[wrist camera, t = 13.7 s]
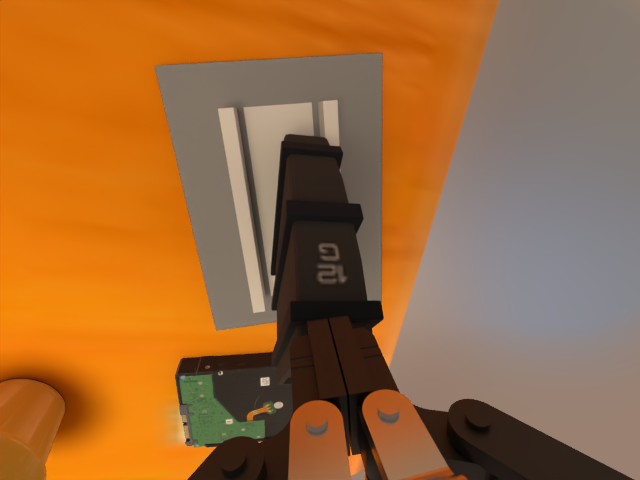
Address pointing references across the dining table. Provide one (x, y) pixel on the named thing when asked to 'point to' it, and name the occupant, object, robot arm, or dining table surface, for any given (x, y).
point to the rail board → (268, 162)
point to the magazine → (315, 247)
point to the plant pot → (27, 427)
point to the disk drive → (231, 398)
